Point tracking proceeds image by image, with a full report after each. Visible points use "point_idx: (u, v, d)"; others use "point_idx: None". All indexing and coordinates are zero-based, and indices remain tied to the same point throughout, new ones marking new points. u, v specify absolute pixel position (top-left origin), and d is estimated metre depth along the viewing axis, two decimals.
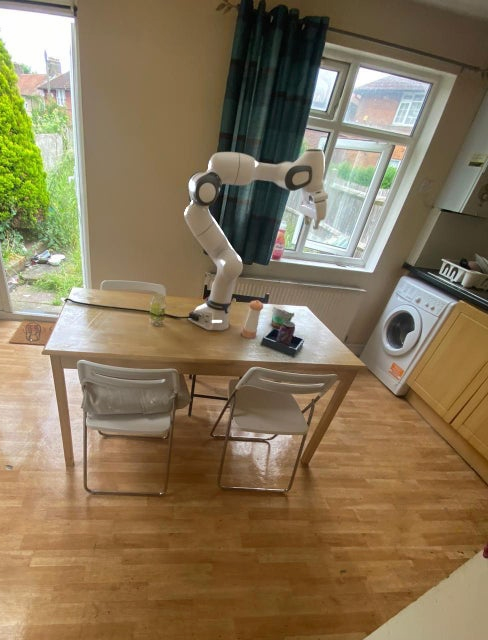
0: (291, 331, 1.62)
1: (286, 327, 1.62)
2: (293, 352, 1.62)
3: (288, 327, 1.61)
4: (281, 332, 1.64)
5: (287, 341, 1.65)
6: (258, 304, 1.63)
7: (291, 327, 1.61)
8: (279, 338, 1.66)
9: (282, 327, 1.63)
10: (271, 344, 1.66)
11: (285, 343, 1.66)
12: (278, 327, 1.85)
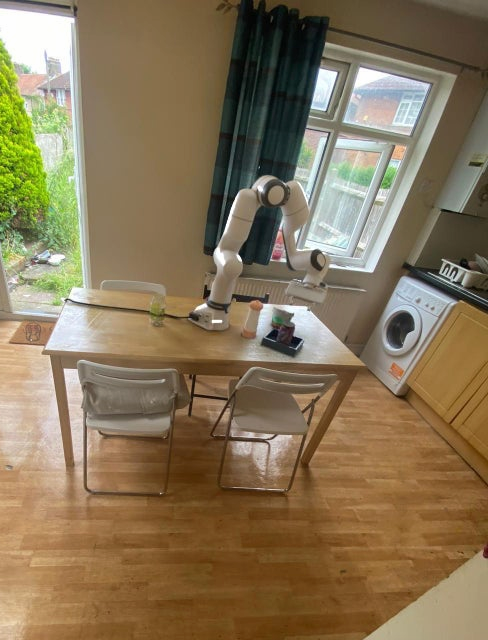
0: (291, 331, 1.62)
1: (286, 327, 1.62)
2: (293, 352, 1.62)
3: (288, 327, 1.61)
4: (281, 332, 1.64)
5: (287, 341, 1.65)
6: (258, 304, 1.63)
7: (291, 327, 1.61)
8: (279, 338, 1.66)
9: (282, 327, 1.63)
10: (271, 344, 1.66)
11: (285, 343, 1.66)
12: (278, 327, 1.85)
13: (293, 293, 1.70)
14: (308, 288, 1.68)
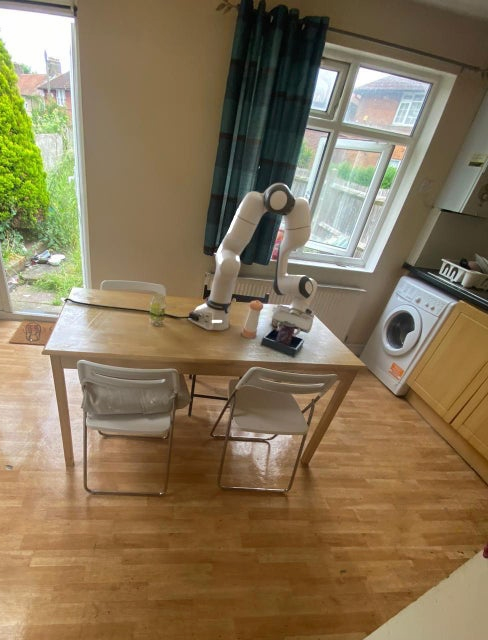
0: (291, 331, 1.62)
1: (286, 327, 1.62)
2: (293, 352, 1.62)
3: (288, 327, 1.61)
4: (281, 332, 1.64)
5: (287, 341, 1.65)
6: (258, 304, 1.63)
7: (291, 327, 1.61)
8: (279, 338, 1.66)
9: (282, 327, 1.63)
10: (271, 344, 1.66)
11: (285, 343, 1.66)
12: None
13: (279, 319, 1.67)
14: (294, 314, 1.65)
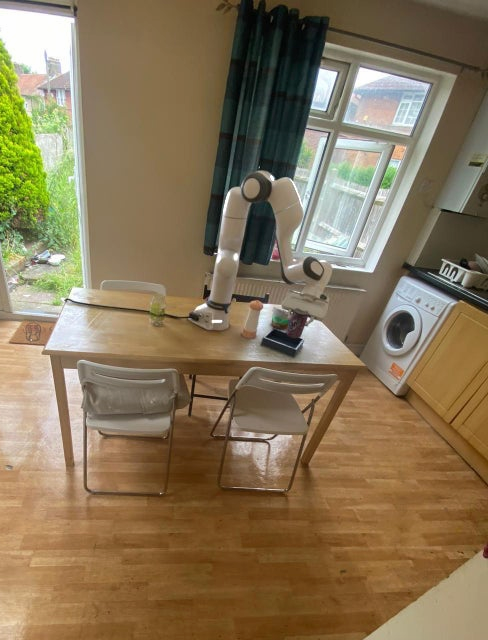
0: (304, 319, 1.46)
1: (298, 315, 1.45)
2: (293, 352, 1.62)
3: (300, 315, 1.45)
4: (292, 320, 1.48)
5: (299, 330, 1.49)
6: (258, 304, 1.63)
7: (304, 315, 1.45)
8: (290, 327, 1.50)
9: (294, 315, 1.46)
10: (271, 344, 1.66)
11: (297, 333, 1.49)
12: (278, 327, 1.85)
13: (290, 306, 1.50)
14: (307, 301, 1.48)
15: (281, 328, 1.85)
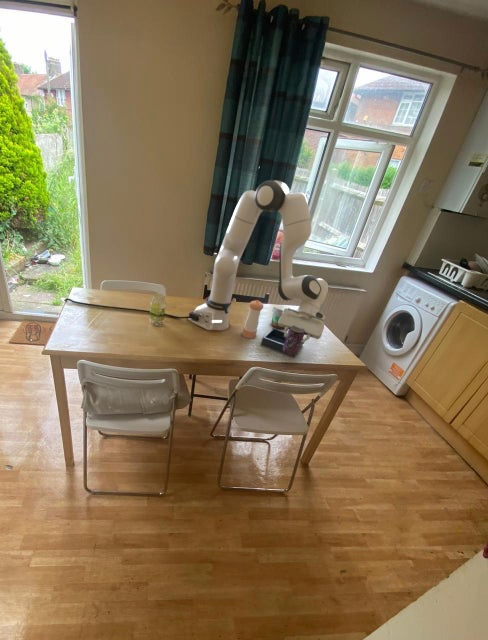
0: (300, 337, 1.47)
1: (294, 333, 1.46)
2: None
3: (297, 333, 1.46)
4: (289, 338, 1.49)
5: (295, 347, 1.50)
6: (258, 304, 1.63)
7: (300, 333, 1.46)
8: (286, 345, 1.51)
9: (290, 333, 1.48)
10: (271, 344, 1.66)
11: (293, 350, 1.51)
12: (278, 327, 1.85)
13: (286, 324, 1.52)
14: (303, 318, 1.50)
15: (281, 328, 1.85)
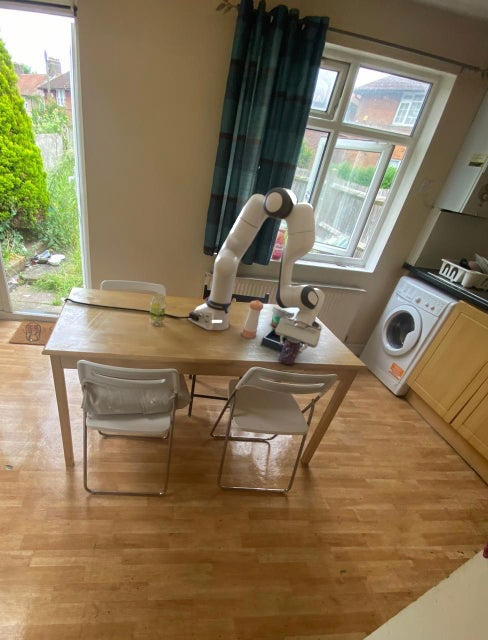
0: (296, 347, 1.50)
1: (291, 343, 1.50)
2: None
3: (293, 343, 1.49)
4: (285, 348, 1.52)
5: (292, 357, 1.53)
6: (258, 304, 1.63)
7: (296, 343, 1.49)
8: (283, 354, 1.54)
9: (286, 343, 1.51)
10: (271, 344, 1.66)
11: (290, 360, 1.54)
12: None
13: (283, 332, 1.54)
14: (300, 327, 1.53)
15: None
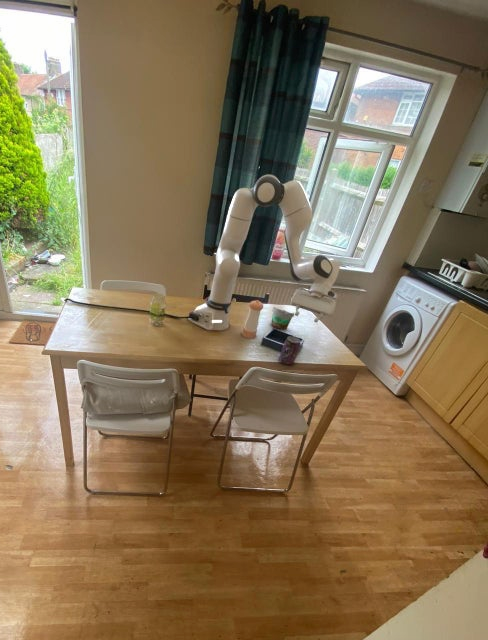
0: (296, 347, 1.50)
1: (291, 343, 1.50)
2: None
3: (293, 343, 1.49)
4: (285, 348, 1.52)
5: (292, 357, 1.53)
6: (258, 304, 1.63)
7: (296, 343, 1.49)
8: (283, 354, 1.54)
9: (286, 343, 1.51)
10: (271, 344, 1.66)
11: (290, 360, 1.54)
12: (278, 327, 1.85)
13: (299, 303, 1.57)
14: (315, 297, 1.55)
15: (281, 328, 1.85)
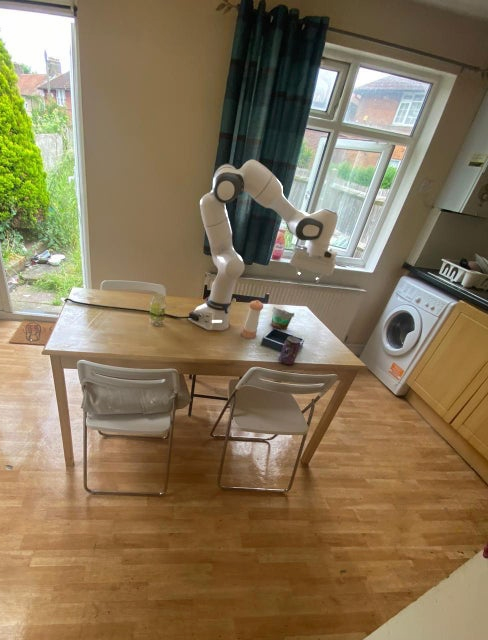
0: (296, 347, 1.50)
1: (291, 343, 1.50)
2: None
3: (293, 343, 1.49)
4: (285, 348, 1.52)
5: (292, 357, 1.53)
6: (258, 304, 1.63)
7: (296, 343, 1.49)
8: (283, 354, 1.54)
9: (286, 343, 1.51)
10: (271, 344, 1.66)
11: (290, 360, 1.54)
12: (278, 327, 1.85)
13: (298, 265, 1.58)
14: (313, 258, 1.53)
15: (281, 328, 1.85)
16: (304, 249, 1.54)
